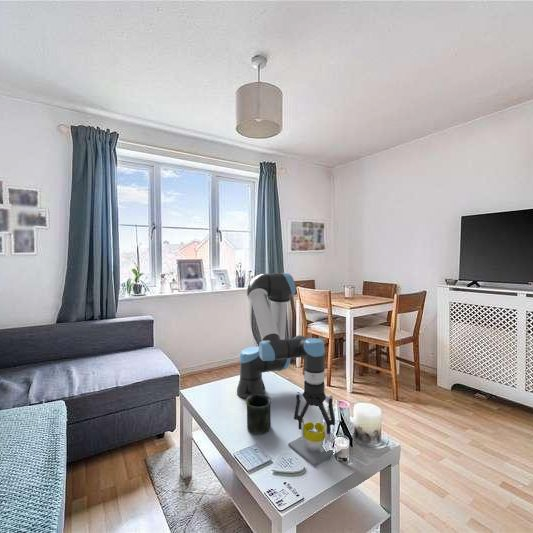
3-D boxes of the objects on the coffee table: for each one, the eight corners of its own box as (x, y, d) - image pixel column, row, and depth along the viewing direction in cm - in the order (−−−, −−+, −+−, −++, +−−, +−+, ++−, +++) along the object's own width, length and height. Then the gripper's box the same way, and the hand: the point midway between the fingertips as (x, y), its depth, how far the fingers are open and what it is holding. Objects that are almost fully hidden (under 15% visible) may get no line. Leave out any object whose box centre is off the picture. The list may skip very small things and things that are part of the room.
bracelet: (326, 442, 108) (326, 433, 108) (304, 441, 109) (304, 432, 109) (324, 430, 116) (324, 422, 116) (303, 429, 117) (303, 421, 116)
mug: (249, 438, 119) (249, 409, 119) (242, 418, 133) (241, 392, 133) (275, 433, 122) (274, 405, 122) (265, 414, 136) (264, 389, 136)
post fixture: (288, 445, 114) (288, 433, 114) (314, 432, 123) (314, 420, 122) (314, 466, 103) (314, 453, 103) (340, 450, 111) (341, 437, 111)
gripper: (285, 381, 111) (285, 440, 112) (342, 388, 105) (342, 450, 106) (289, 373, 118) (289, 429, 119) (343, 379, 112) (342, 437, 113)
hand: (314, 439), depth 113 cm, fingers closed on bracelet, 8 cm apart
